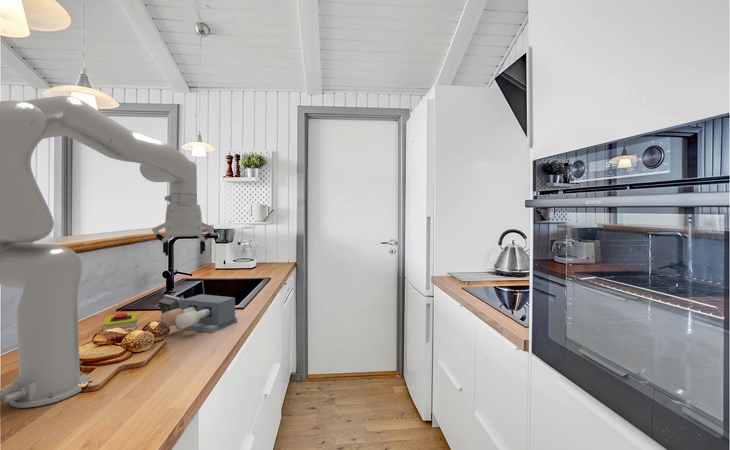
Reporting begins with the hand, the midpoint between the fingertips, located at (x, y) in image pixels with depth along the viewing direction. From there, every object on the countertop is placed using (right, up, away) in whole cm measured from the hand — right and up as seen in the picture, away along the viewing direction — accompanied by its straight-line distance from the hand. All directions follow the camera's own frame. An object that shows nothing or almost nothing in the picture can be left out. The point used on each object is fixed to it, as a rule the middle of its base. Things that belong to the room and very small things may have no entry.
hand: (184, 254), depth 109 cm
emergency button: (-26, -26, +8) cm, 37 cm away
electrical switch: (-11, -25, +13) cm, 30 cm away
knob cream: (+3, -22, +1) cm, 22 cm away
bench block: (+3, -25, +9) cm, 27 cm away
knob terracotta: (-2, -22, +3) cm, 22 cm away
